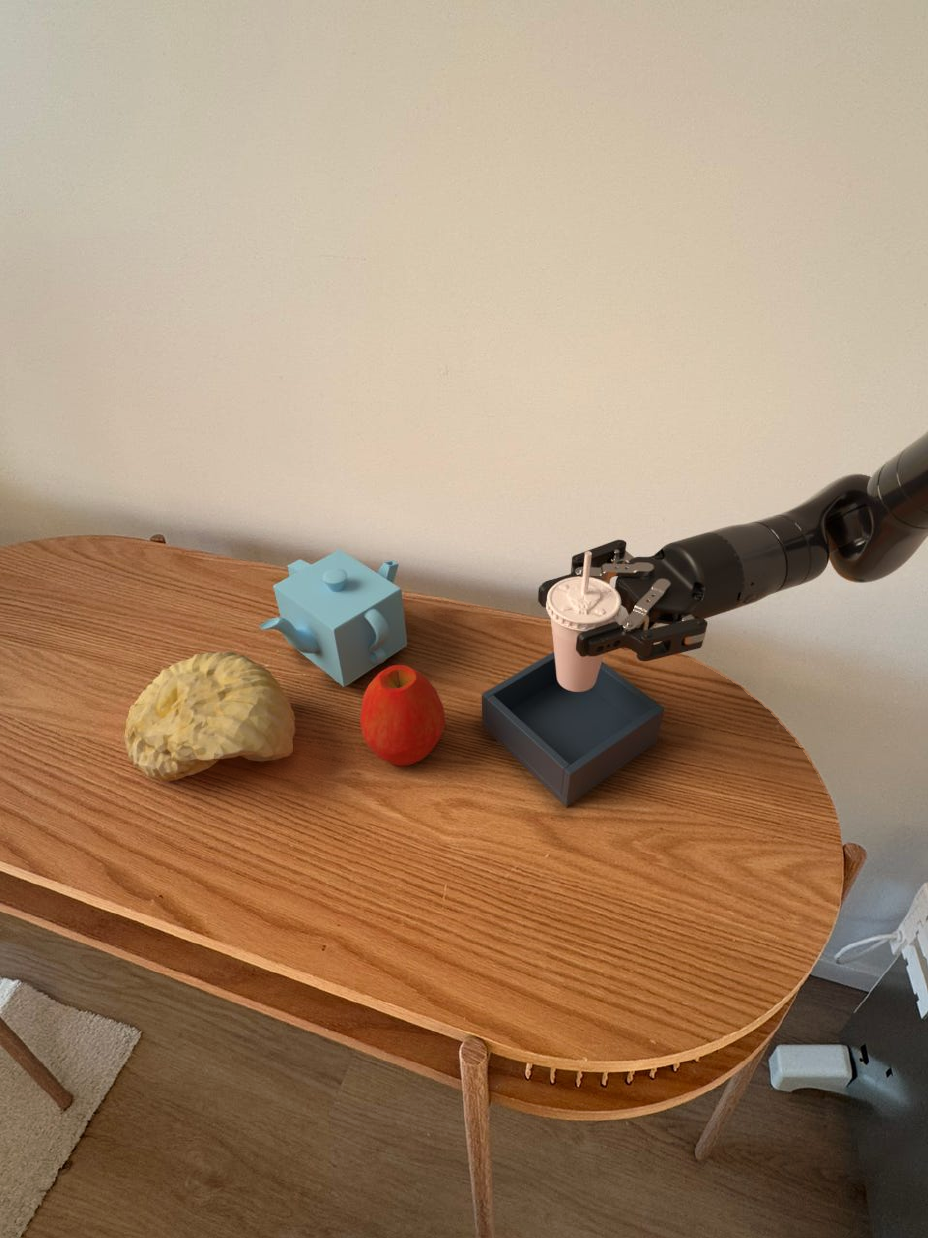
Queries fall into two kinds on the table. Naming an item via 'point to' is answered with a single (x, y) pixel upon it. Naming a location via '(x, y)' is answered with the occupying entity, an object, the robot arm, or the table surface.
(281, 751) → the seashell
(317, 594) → the teapot
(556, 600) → the smoothie
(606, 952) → the table surface
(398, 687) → the apple
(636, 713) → the bin
